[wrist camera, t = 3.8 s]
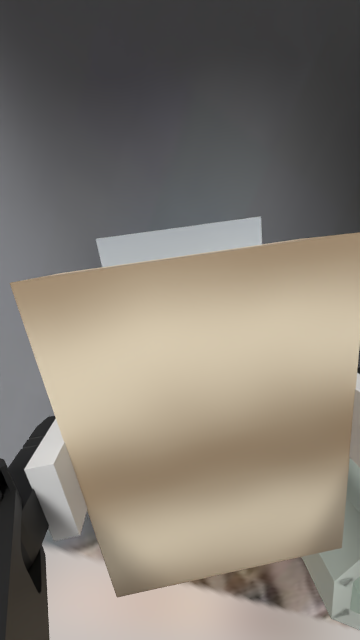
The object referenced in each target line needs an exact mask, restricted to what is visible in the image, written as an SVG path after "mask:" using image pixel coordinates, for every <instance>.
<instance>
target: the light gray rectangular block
mask: <svg viewBox="0 0 360 640" xmlns="http://www.w3.org/2000/svg"><path fill="white" fill-rule="evenodd" d="M96 242H97V246H98V251H99V255H100V260H101V264H102V267H108V266H115V265H122V264H129V263H136V262H143V261H150V260H157V259H164V258H171V257H178V256H185V255H192V254H199V253H206V252H213V251H220V250H227V249H234V248H241V247H248V246H255V245H262V229H261V216H260V217H253V218H245V219H238V220H231V221H223V222H216V223H209V224H201V225H194V226H187V227H179V228H172V229H165V230H157V231H150V232H143V233H135V234H128V235H121V236H113V237H106V238H99V239H96Z"/></svg>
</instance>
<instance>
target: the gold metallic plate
mask: <svg viewBox="0 0 360 640" xmlns="http://www.w3.org/2000/svg"><path fill="white" fill-rule="evenodd" d="M10 285H11V288H12V291H13V294H14V297H15V300H16V303H17V306H18V309H19V312H20V315H21V317H22V320H23V323H24V326H25V329H26V332H27V335H28V338H29V341H30V344H31V347H32V350H33V353H34V356H35V359H36V361H37V364H38V367H39V370H40V373H41V376H42V379H43V382H44V385H45V388H46V391H47V394H48V397H49V400H50V402H51V405H52V408H53V411H54V414H55V417H56V420H57V423H58V426H59V429H60V432H61V435H62V438H63V441H64V442H65V444H66V447H67V450H68V453H69V456H70V459H71V462H72V465H73V468H74V471H75V474H76V477H77V480H78V483H79V485H80V488H81V491H82V494H83V497H84V500H85V503H86V506H87V511H88V514H89V517H90V520H91V523H92V526H93V529H94V531H95V534H96V537H97V540H98V543H99V546H100V549H101V552H102V555H103V558H104V561H105V564H106V567H107V570H108V572H109V575H110V578H111V581H112V584H113V587H114V590H115V593H116V596H117V597H121V596H125V595H130V594H134V593H139V592H144V591H148V590H152V589H157V588H162V587H166V586H171V585H175V584H180V583H185V582H189V581H194V580H198V579H203V578H207V577H212V576H216V575H221V574H225V573H230V572H235V571H239V570H244V569H248V568H253V567H257V566H262V565H266V564H271V563H276V562H280V561H285V560H289V559H294V558H298V557H303V556H307V555H312V554H316V553H321V552H326V551H330V550H335V549H339V548H342V540H343V529H344V517H345V506H346V494H347V483H348V472H349V460H350V457H349V454H350V442H351V431H352V419H353V408H354V396H355V389H356V380H357V369H358V358H359V346H360V232H359V233H350V234H341V235H332V236H323V237H314V238H305V239H297V240H290V241H283V242H276V243H269V244H262V245H255V246H248V247H241V248H234V249H227V250H220V251H213V252H206V253H199V254H192V255H185V256H178V257H171V258H164V259H157V260H150V261H143V262H136V263H129V264H122V265H115V266H108V267H101V268H94V269H87V270H80V271H73V272H66V273H60V274H54V275H49V276H44V277H39V278H33V279H28V280H23V281H18V282H12V283H10Z"/></svg>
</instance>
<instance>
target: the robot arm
mask: <svg viewBox="0 0 360 640" xmlns="http://www.w3.org/2000/svg"><path fill="white" fill-rule="evenodd" d="M349 457H350V458H351V459H352V460H353V461H354V462H355V463H356V464H357V465H358V467H359V468H360V368H358V369H357V380H356V389H355V396H354V408H353V419H352V431H351V442H350V454H349ZM86 512H87V506H86V503H85V500H84V497H83V494H82V491H81V488H80V485H79V483H78V480H77V477H76V474H75V471H74V468H73V465H72V462H71V459H70V456H69V453H68V450H67V447H66V444H65V442H64V441H63V438H62V435H61V432H60V429H59V426H58V423H57V420H56V417H55V416H51V417H48V418H46V419H45V420H44V421H43V422H42V423H41V424H40V425H38V426H37V427H36V429H35V430H34V432H33V433H32V434H31V436H30V437H29V440H27V442H26V443H25V444H24V446H23V449H21V450H20V452H19V453H18V454H17V456H16V457H15V459H14V460H13V462H12V463H11V464H10V466H9V467H8V468H7V465H6V463H5V461H4V460H3V459H1V458H0V640H49V622H48V602H47V582H46V581H47V580H46V561H45V560H46V559H45V553H44V549H43V547H42V542H43V540H44V537H45V535H46V532H47V530H48V528H49V531H50V533H51V535H52V538H53V540H54V541H57V540H62V539H67V538H72V537H76V536H80V534H81V530H82V526H83V523H84V519H85V516H86Z"/></svg>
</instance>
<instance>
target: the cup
mask: <svg viewBox="0 0 360 640" xmlns="http://www.w3.org/2000/svg"><path fill="white" fill-rule="evenodd" d="M302 559H303V561H304V563H305V565H306V567H307V569H308V571H309V573H310V575H311V578H312V580H313V582H314V584H315V586H316V588H317V590H318V592H319V594H320V596H321V598H322V601H323V603H324V605H325V607H326V609H327V611H328V613H329V615H330V617H331V619H333V620H336V621H338V622H341V623H343V624H346V625H348V626H351V627H353V628H355V629H358V630H360V468H359V467H358V465H357V464H356V463H355V462H354V461H353V460H352V459H351V458H350V460H349V472H348V483H347V494H346V506H345V517H344V529H343V540H342V548H339V549H335V550H330V551H326V552H321V553H316V554H312V555H307V556H303V557H302Z"/></svg>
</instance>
